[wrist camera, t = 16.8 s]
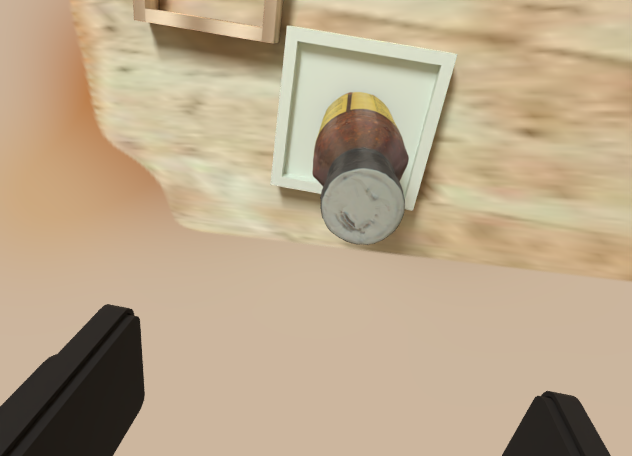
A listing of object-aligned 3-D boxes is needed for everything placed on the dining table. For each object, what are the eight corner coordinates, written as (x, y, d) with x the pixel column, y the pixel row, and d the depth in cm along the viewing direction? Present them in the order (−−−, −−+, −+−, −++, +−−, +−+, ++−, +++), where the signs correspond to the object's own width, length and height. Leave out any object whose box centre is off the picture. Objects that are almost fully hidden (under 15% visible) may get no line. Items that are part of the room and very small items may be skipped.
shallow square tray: (451, 52, 35) (457, 54, 33) (410, 200, 41) (412, 210, 39) (292, 25, 35) (286, 25, 33) (275, 176, 42) (270, 184, 39)
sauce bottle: (330, 162, 39) (300, 275, 21) (317, 96, 36) (269, 161, 19) (399, 151, 38) (428, 260, 20) (390, 81, 35) (415, 135, 17)
